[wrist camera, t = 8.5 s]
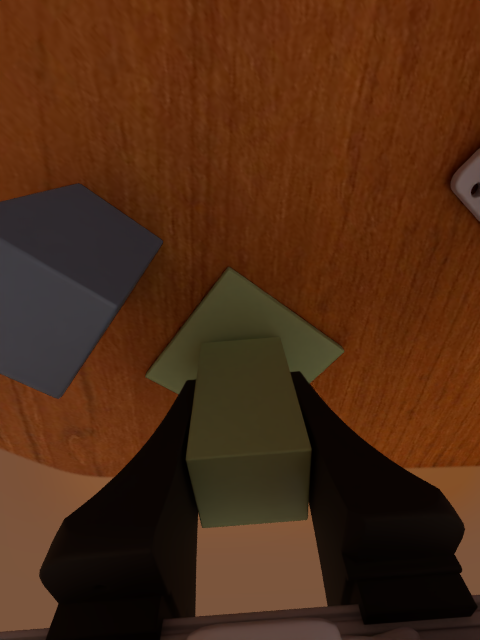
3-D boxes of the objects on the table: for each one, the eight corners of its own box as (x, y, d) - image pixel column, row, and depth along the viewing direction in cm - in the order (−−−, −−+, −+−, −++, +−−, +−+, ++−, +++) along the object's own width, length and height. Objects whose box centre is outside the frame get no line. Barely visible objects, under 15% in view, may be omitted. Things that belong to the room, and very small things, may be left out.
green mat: (342, 346, 15) (345, 351, 15) (254, 428, 18) (254, 433, 18) (228, 265, 13) (228, 269, 13) (146, 372, 16) (144, 377, 15)
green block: (280, 335, 14) (312, 449, 9) (281, 396, 16) (307, 520, 10) (200, 342, 14) (184, 459, 9) (210, 402, 16) (201, 528, 10)
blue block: (164, 240, 12) (119, 307, 7) (122, 304, 14) (58, 401, 9) (78, 181, 11) (-49, 210, 6) (42, 258, 13) (-89, 336, 7)
